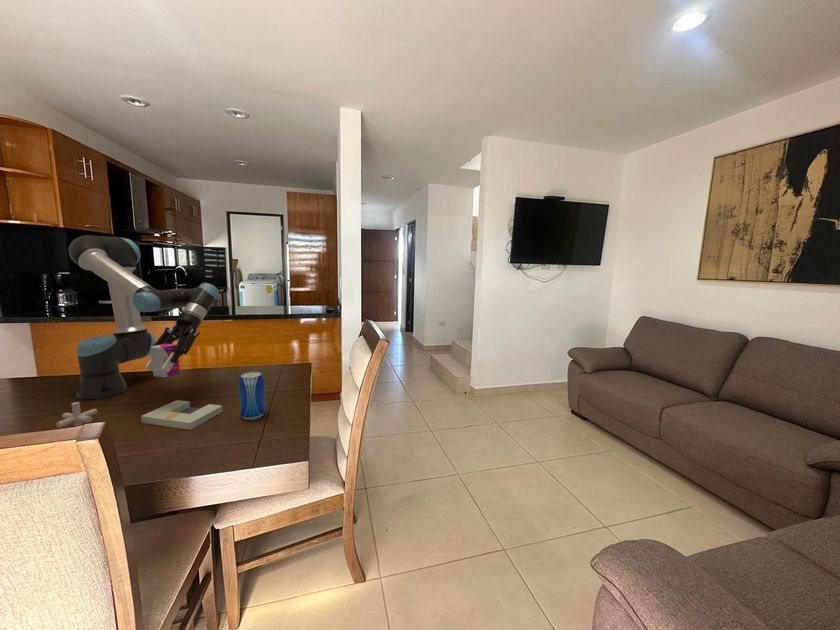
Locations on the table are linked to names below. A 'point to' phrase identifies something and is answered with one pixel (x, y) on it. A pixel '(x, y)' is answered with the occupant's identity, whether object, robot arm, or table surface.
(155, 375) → the supplement box
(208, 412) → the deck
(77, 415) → the pipe connector
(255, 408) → the beer can
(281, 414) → the table surface
